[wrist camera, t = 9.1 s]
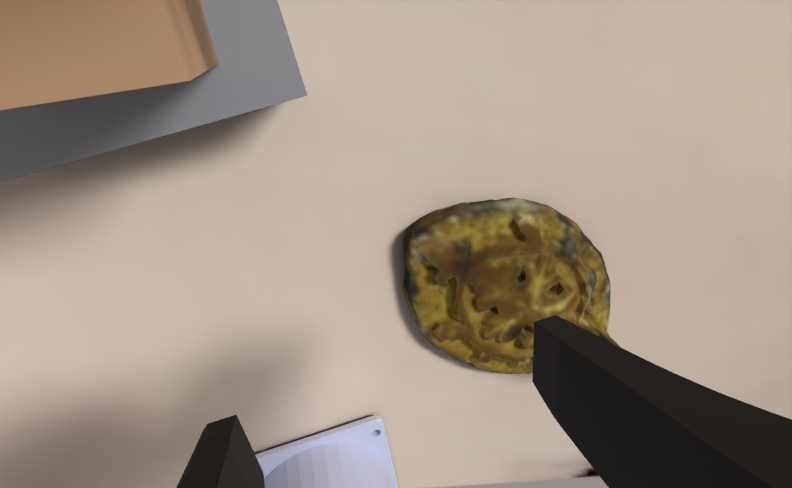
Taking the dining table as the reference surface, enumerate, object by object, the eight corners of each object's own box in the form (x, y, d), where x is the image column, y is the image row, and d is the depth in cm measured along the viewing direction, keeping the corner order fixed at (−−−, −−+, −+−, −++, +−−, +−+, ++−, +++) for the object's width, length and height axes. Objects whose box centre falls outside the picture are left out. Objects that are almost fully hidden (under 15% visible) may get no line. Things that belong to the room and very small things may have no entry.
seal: (345, 298, 21) (541, 375, 28) (357, 368, 17) (582, 439, 24) (456, 141, 18) (647, 269, 25) (500, 184, 14) (714, 323, 21)
